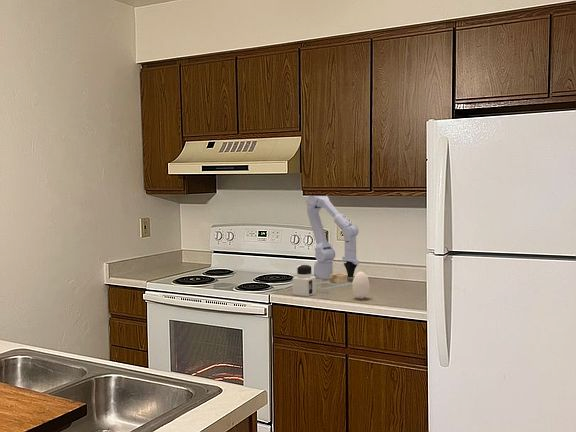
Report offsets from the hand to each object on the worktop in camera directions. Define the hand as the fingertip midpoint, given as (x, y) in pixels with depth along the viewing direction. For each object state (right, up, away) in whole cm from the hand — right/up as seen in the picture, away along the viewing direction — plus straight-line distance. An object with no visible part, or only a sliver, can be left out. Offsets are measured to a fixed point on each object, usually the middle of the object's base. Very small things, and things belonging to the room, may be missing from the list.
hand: (350, 277), depth 299 cm
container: (-24, -5, -27) cm, 36 cm away
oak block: (-6, -2, -5) cm, 9 cm away
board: (-11, -3, -9) cm, 14 cm away
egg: (+1, -6, -38) cm, 38 cm away
